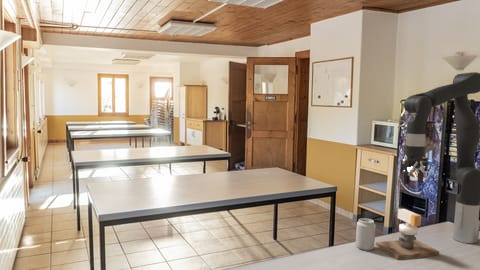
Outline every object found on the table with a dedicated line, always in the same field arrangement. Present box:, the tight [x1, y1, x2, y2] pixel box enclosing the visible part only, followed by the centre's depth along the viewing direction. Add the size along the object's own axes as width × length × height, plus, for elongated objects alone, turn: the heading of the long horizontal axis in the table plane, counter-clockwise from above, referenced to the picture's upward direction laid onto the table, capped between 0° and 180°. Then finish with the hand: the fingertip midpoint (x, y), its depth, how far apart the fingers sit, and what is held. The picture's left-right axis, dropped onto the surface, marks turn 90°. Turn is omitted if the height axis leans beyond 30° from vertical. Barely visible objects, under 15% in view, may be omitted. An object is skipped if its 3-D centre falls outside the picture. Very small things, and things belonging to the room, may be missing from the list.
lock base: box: [375, 233, 440, 260], centre depth 157 cm, size 20×14×8 cm
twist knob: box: [397, 208, 422, 236], centre depth 157 cm, size 10×7×9 cm
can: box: [355, 217, 377, 251], centre depth 159 cm, size 8×8×12 cm
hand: (413, 183), depth 158 cm, fingers open, 8 cm apart
